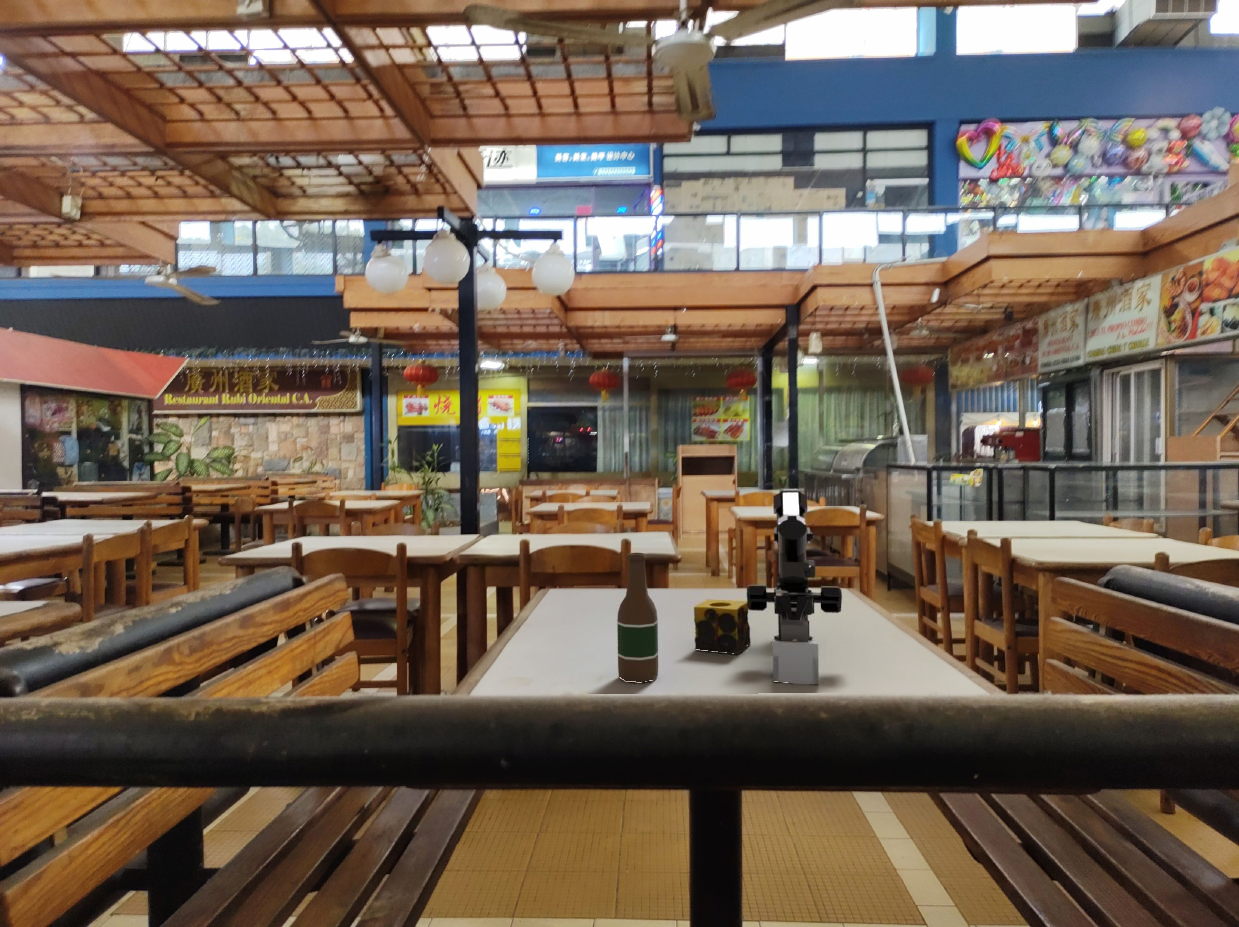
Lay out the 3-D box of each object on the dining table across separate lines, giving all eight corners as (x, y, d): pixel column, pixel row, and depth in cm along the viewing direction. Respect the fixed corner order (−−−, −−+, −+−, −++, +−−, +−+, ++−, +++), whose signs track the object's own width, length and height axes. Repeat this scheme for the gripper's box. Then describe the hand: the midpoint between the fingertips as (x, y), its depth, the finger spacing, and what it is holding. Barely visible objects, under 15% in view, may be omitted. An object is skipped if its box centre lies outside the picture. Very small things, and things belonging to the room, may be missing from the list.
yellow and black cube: (751, 645, 163) (750, 601, 163) (739, 655, 154) (738, 609, 154) (708, 641, 167) (707, 598, 167) (693, 651, 158) (693, 606, 158)
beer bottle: (616, 673, 142) (614, 551, 142) (655, 671, 142) (653, 550, 142) (619, 684, 134) (617, 556, 134) (661, 683, 134) (659, 555, 135)
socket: (773, 669, 143) (773, 630, 143) (816, 670, 141) (815, 631, 141) (773, 682, 134) (772, 641, 134) (818, 684, 132) (818, 642, 132)
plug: (782, 670, 141) (781, 619, 141) (808, 671, 140) (807, 620, 140) (782, 679, 135) (781, 626, 135) (809, 680, 134) (808, 627, 134)
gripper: (746, 545, 149) (744, 609, 138) (840, 546, 144) (845, 612, 134) (748, 578, 156) (747, 640, 145) (838, 580, 152) (843, 644, 141)
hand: (794, 634), depth 141 cm, fingers closed, pressing on plug
